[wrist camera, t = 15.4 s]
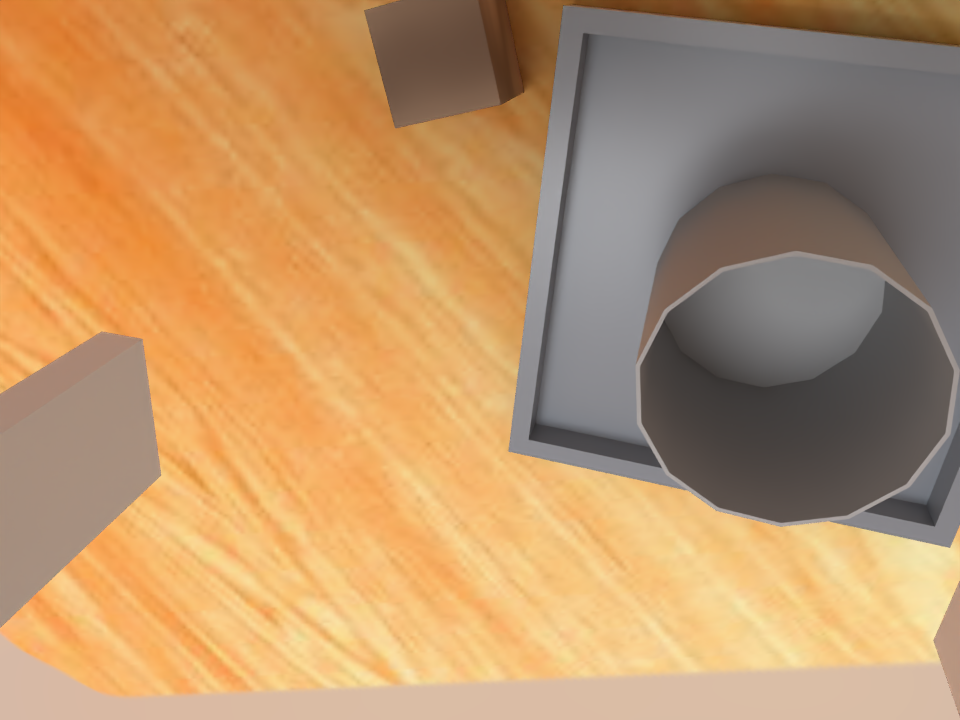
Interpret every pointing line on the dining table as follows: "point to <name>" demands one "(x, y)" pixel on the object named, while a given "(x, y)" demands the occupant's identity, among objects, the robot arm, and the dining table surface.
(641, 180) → the tray
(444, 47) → the walnut block
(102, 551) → the dining table surface
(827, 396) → the cup
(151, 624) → the dining table surface
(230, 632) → the dining table surface
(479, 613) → the dining table surface
